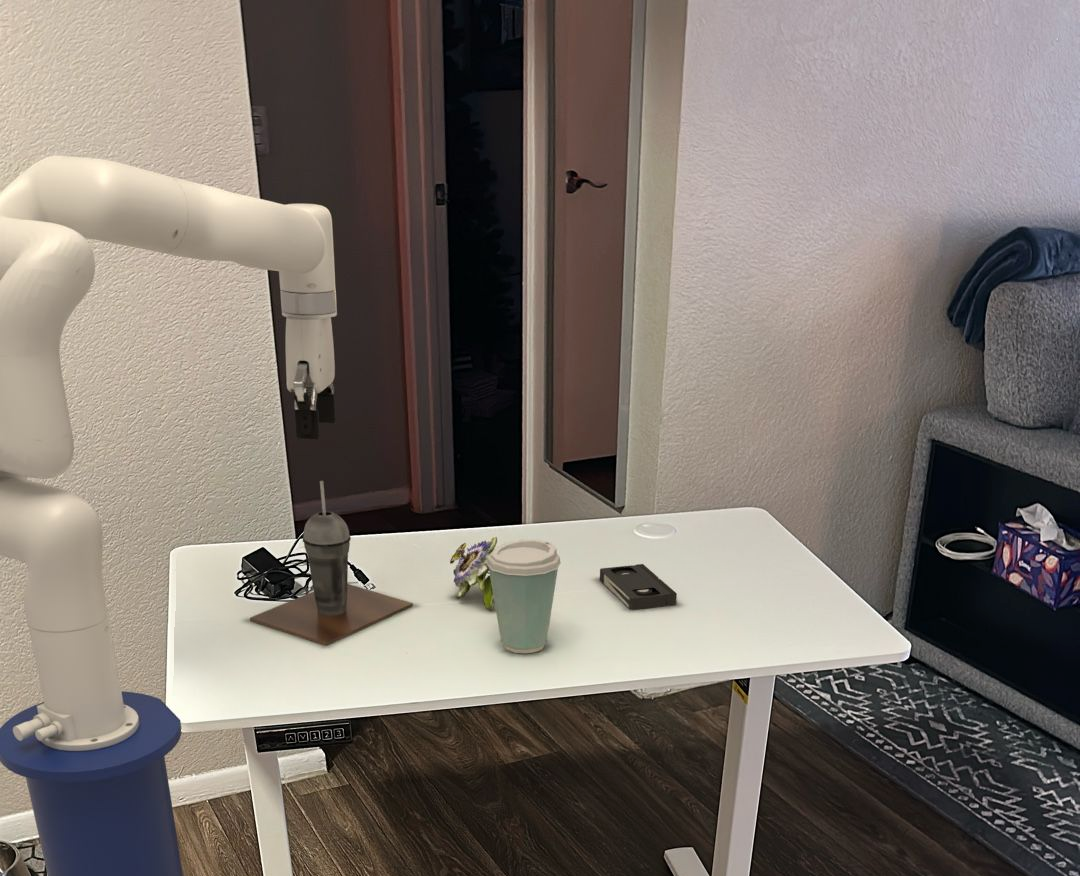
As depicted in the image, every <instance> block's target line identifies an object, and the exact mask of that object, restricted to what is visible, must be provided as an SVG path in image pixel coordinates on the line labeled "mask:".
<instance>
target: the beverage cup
mask: <svg viewBox="0 0 1080 876" xmlns="http://www.w3.org/2000/svg"><path fill="white" fill-rule="evenodd" d="M319 486H320V488H319V489H320V499H321V501H320V502H321V511H319V512H316V513H314V514H313V515H311V517H309V519H308V520H307V521H306V522H305V525H304V528H303V536H302V542H303V543H304V544H303V546H304V549H305V553H306V554H307V560H308V565H309V566H308V567H309V572H310V577H311V583H312V589H313V592H314V596H315V602H316V605H317V610H318V613H320V614H322V615H328V616H333V615H340V614H343V613H344V612H346V605H347V584H348V578H349V577H348V576H349V575H348V574H349V573H348V570H349V564H348V563H349V552H350V548H351V547H350V545H351V544H350V543H351V542H350V541H351V539H352V538H351V534H350V529H349V527H348V525H347V523H346V522H345V520H344V519H343V518H342V517H341V516H340V515H338V514H337V513H335V512H333V511H327V508H326V497H325V487H324V480H320V481H319Z"/></svg>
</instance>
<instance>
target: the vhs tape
mask: <svg viewBox="0 0 1080 876" xmlns="http://www.w3.org/2000/svg"><path fill="white" fill-rule="evenodd" d="M599 581H600V583H602V584H603V585H604V586H605V587H606V588H607V589H608V590H609V591H610V592H611V593H612V594H613V595H614V596H615V597H616V598H617V599H618V600H619V601H620V602H621V603H622V604H623V605H624V606H626V608H628V609H629V610H630V611H633V610H634V611H635V610H644V609H652V608H662V607H670V606H671V607H672V606H676V605H677V598H678V597H677V596H678V593H677V592H676V591H674V590H673V589H672V588H671V587H670V586H669V585H668V584H667V583H666V582H665V581H663V580H662V579H661V578H659V576H657V575H656V573H654V572H653V571H652V570H651V569H649V568H648V567H647V566H646V565H645V564H644V563H638V564H634V565H632V564H631V565H622V566H621V565H620V566H612V567H611V566H610V567H602V568H600V569H599Z"/></svg>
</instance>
